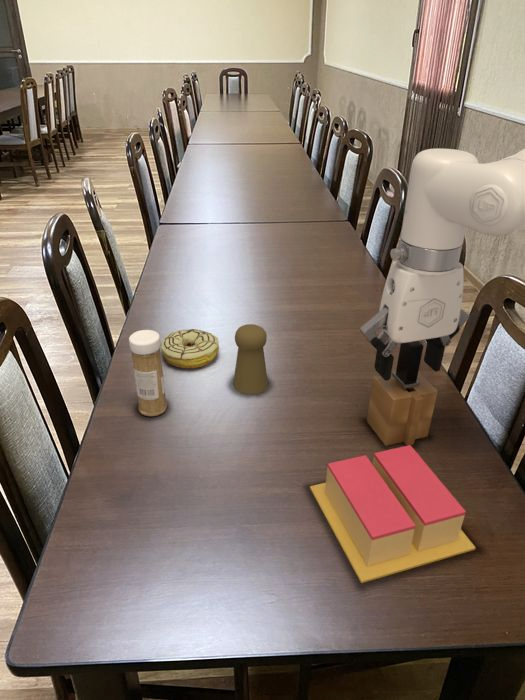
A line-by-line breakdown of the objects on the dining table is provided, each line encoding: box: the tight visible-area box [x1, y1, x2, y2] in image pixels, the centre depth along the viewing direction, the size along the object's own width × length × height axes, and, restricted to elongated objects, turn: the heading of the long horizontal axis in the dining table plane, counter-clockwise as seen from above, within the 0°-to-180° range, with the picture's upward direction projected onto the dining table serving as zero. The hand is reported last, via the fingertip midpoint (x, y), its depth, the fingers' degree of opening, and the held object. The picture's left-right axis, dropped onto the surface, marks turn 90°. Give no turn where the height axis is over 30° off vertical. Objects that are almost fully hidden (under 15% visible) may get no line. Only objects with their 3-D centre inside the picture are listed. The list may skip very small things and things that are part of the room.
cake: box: [309, 445, 476, 584], centre depth 66 cm, size 15×15×5 cm
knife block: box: [366, 368, 438, 446], centre depth 80 cm, size 7×8×8 cm
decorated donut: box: [160, 328, 220, 369], centre depth 99 cm, size 10×11×4 cm
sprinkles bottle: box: [128, 329, 168, 417], centre depth 83 cm, size 5×5×14 cm
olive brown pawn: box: [232, 323, 269, 396], centre depth 89 cm, size 6×6×11 cm
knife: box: [392, 341, 424, 392], centre depth 78 cm, size 2×4×16 cm, turn 18°
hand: (407, 370), depth 77 cm, fingers open, 7 cm apart
